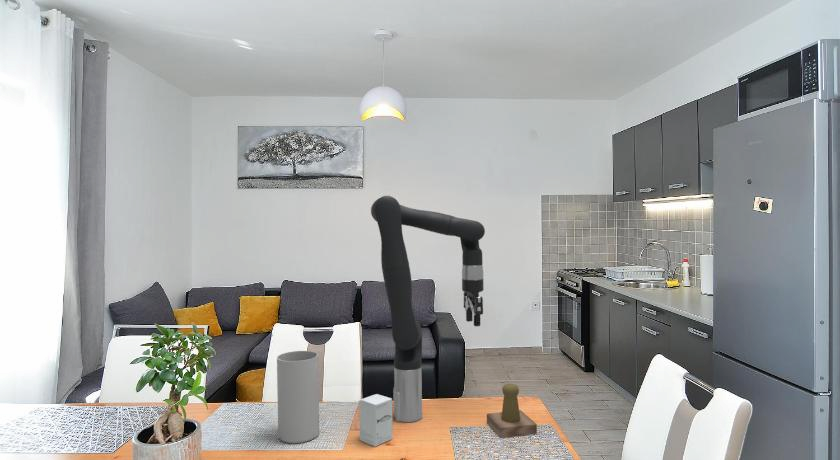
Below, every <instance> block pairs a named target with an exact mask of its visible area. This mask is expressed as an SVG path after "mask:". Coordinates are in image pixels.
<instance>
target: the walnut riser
mask: <svg viewBox="0 0 840 460" xmlns="http://www.w3.org/2000/svg"><path fill="white" fill-rule="evenodd" d="M519 413H520V421H519V422H515V423H509V422H505V421H503V420H502V419H501V416H502V411H501V412H489V413H486V425H488V426H489V427H490V428H491V429H492V430H493V432H495V434H496V435H497V436H498V437H499V438H500V439H503V438H504V439H505V438H511V437H512V438H513V437H520V436H521V437H522V436H529V435H537V433H538V424H537V423H536V422H535V421H533V419H532V418H530V417H529V416H528V415H527V414H525V413H524V412H523V411H522V410H520V409H519Z"/></svg>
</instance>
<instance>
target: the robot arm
mask: <svg viewBox="0 0 840 460" xmlns="http://www.w3.org/2000/svg"><path fill="white" fill-rule="evenodd" d="M370 214H371V216H372V219H373V220H374V221H376V223H377V226H378V230H379V231H378V232H379V234H380V235H379V236H380V240H381V248H380V251H381V252H380V259H381V260H380V261H381V272H382V277H383V282H384V283H383V284H384V287H385V292H386V296H387V300H388V304H389V308H390V317H391V320H390V321H391V332H392V333H391V334H392V340H393V343H394V344H395V345H394V347H395V348H394V349H395V351H394V359H393V366H394V367H393V369H394V370H393V371H394V373H393V374H394V376H393V378H394V387H393V389H392V390H393V391H392V393H393V398H392V402H393V417H394V419H395V421H396V422H402V423H413V422H414V423H415V422H418V421H419V420H421V419H423V396H422V395H423V394H422V393H423V392H422V389H423V387H422V385H423V384H422V383H423V382H422V379H423V377H422V361H423V360H422V357H423V333H422V332H423V329H422V326H421V324H420V323H419V321H417V320H416V318H415V315H414V309H413V302H412V299H413V297H412V295H413V289H412V288H413V284H412V283H413V282H412V274H411V268H410V262H409V257H408V253H407V248H406V244H405V240H404V235H403V227H402V226H407V227H413V228H416V229H420V230H424V231H428V232H432V233H434V234H435V233H436V234H440V235H444V236H449V237H450V236H451V237H457V238H460V246H461V251H462V266H461V267H462V268H461V269H462V270H461V290H462V291H463V309H464V311H465V322H473V326H474V327H480V326H481V316H482V315H483V314H484V300H483V299H484V297H483V296H480V293H481V292H483V291H484V266H483V251H482V249H481V248H480V240H482V238H483V237H484V236H485V232H486V230H485V226H484V225H483V223H481V222H479V221H477V220H472V219H468V218H461V217H456V216H453V215H450V214H445V213H442V212H436V211H430V210H425V209H418V208H417V209H416V208H412V207H408V206H404V205H401V204H400V203H399V201H398V200H397V199H396V198H395V197H393V196H391V195H383V196H381V197H379V198H377V199H376V200H374V202H373V203H372V205H371V207H370Z"/></svg>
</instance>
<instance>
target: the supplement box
mask: <svg viewBox="0 0 840 460" xmlns="http://www.w3.org/2000/svg"><path fill="white" fill-rule="evenodd" d="M358 402H359V403H358V404H359V405H358V406H359V408H358V409H359V412H358V413H359V417H358V418H359V441H361V442H363V443H365V444H368V445H370V446H372V447H374V448H376V447H377V446H379V445H381V444H383V443H386V442H388V441H391V440H393V398H392V397H388V396H384V395H381V394H379V393H376V394H372V395H369V396H367V397H364V398H361V399H359V401H358Z"/></svg>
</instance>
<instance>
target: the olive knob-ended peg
mask: <svg viewBox="0 0 840 460" xmlns="http://www.w3.org/2000/svg"><path fill="white" fill-rule="evenodd" d="M501 392H502V394H503V401H502V409H501V412H502V416H501V419H502V420H503V421H505V422H509V423H515V422H519V421H520V413H519V410H520V407H519V400H518V395H519V394H520V389H519V386H518V385H517V384H515V383H505V384H503V386H502V391H501Z"/></svg>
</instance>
